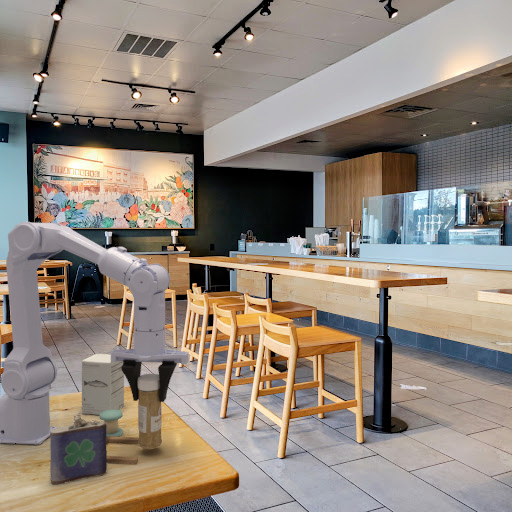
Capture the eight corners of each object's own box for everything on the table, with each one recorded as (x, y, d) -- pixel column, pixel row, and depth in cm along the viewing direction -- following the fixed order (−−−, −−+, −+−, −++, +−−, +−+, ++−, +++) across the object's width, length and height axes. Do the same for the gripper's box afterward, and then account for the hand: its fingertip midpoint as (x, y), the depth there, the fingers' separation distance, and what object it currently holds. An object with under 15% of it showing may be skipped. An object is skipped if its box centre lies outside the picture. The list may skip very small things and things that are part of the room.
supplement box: (80, 414, 115) (80, 360, 114) (97, 403, 122) (97, 352, 121) (110, 417, 113) (109, 362, 112) (125, 406, 120) (125, 354, 120)
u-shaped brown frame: (84, 462, 91) (84, 457, 91) (104, 440, 101) (104, 436, 101) (135, 464, 90) (135, 460, 90) (151, 442, 100) (151, 438, 100)
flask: (51, 486, 82) (50, 423, 82) (49, 478, 85) (49, 417, 85) (108, 474, 87) (107, 414, 86) (105, 467, 89) (104, 408, 89)
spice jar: (163, 448, 94) (163, 380, 93) (138, 451, 93) (138, 382, 91) (160, 437, 99) (160, 371, 97) (137, 439, 97) (136, 373, 96)
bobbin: (96, 438, 101) (95, 417, 101) (104, 429, 106) (104, 409, 106) (118, 439, 101) (117, 418, 101) (125, 430, 105) (125, 409, 105)
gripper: (104, 332, 90) (104, 405, 91) (182, 334, 89) (182, 408, 90) (118, 324, 97) (118, 392, 98) (191, 326, 96) (190, 395, 97)
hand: (149, 399), depth 95 cm, fingers closed on spice jar, 4 cm apart
